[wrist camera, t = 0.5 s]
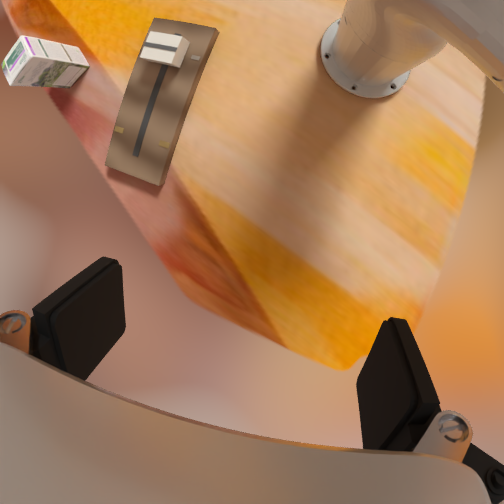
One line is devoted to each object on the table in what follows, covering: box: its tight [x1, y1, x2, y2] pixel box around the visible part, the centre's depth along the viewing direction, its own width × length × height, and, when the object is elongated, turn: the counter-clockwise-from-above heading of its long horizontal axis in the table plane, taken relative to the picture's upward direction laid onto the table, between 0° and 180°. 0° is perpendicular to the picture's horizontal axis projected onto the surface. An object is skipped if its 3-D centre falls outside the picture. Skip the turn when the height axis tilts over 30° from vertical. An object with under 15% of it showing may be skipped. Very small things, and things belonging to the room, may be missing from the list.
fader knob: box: [140, 31, 190, 68], centre depth 34 cm, size 4×5×3 cm
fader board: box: [105, 18, 219, 186], centre depth 39 cm, size 24×10×2 cm, turn 159°
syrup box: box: [1, 36, 89, 88], centre depth 33 cm, size 6×6×14 cm
